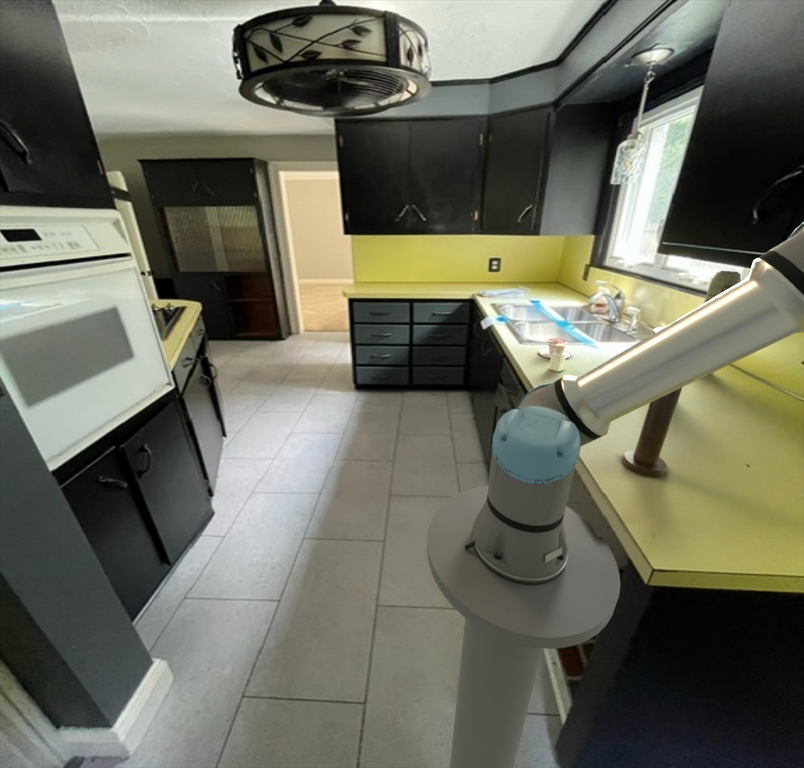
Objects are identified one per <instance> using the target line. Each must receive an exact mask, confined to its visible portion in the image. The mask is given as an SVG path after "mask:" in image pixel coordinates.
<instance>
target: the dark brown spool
mask: <svg viewBox="0 0 804 768" xmlns="http://www.w3.org/2000/svg"><path fill="white" fill-rule="evenodd" d="M664 327H665V326H662V327H655V328H654V329H653V331H652V334H654V333H655V332H657V331H659V330H661V329H662V328H664ZM682 390H683V387H682V388H680V389H678V390H676V391H673V392H671V393H669V394H667V395H665V396H663V397H661V398H659V399H657V400H655V401H653V402H651V403H648V407H647V410H646V414H645V417H644V420H643V423H642V427H641V430H640V432H639V437H638V440H637V443H636V447H635V449H630V450H626V451H625V452H624V453H623V455H622V456H623V457H622V464H623V465H624V466H625V467H626V468H627V469H628V470H630V471H631V472H633V473H636V474H638V475H641V476H645V477H650V478H651V477H652V478H658V477H662V476H663V475H665V473H666V470H667V468H668V466H667V463H666V461H665V460H664V459H662V458H661V457H660V455H661V453H662V450H663V447H664V443H665V441H666V437H667V435H668V432H669V429H670V425H671V423H672V420H673V417H674V414H675V411H676V408H677V404H678V402H679V399H680V396H681V392H682Z"/></svg>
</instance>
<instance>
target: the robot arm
mask: <svg viewBox="0 0 804 768" xmlns="http://www.w3.org/2000/svg"><path fill="white" fill-rule="evenodd" d="M702 304H703V303H702ZM702 304H701V305H700V306H698V307H696V308H695V309H693V310H691V311H690V312H687V313H686V314H685V315H683V316H681V317H679V318H678V319H676V320H674V321H673V322H670V323H669V324H667V325H666V326H663V327H664V328H662V329H661V330H659V331H657V332H655V333H654V334H653V333H652V334H651V335H649V336H647V337H645V338H644V339H642V340H640V341H638V342H637V343H635V344H634V345H632V346H630V347H628V348H627V349H625V350H623V351H622V352H620V353H618V354H616V355H615V356H613V357H611V358H610V359H608V360H606V361H605V362H603V363H601V364H600V365H598V366H596V367H594V368H593V369H591V370H590V371H587V372H586V373H584V374H583V375H581V376H575V375H569V374H565V375H563V376H562V377H560V378H558V379H556V380H555V381H553V382H548V383H547V382H546V383H543V384H540V385H538V386H535V387H534V388H533V389H531V390H529V391H528V392H527V393H526V394H525V395H524V396H523V397H522V399H521V400H520V402H519V403H518V406H517V408H513V409H511V410H507V412H505V413H504V414H503V415H501V417H500V418H499V419H498V421H497V423H496V427H495V429H494V433H493V435H492V442H491V443H492V444H491V447H492V448H491V449H492V451H491V460H490V468H489V477H488V485H487V486H488V495H487V500H486V502H485V503H484V505H483V507H482V508H481V510H480V512H479V514H478V515H477V517H476V519H475V521H474V524H473V528H472V542H471V543H469V544H467V545H465V546H464V547H465V549H466V550H467V549H469V548H471V547H473V548H474V551H475V553H476V555H477V556H478V558H479V559H480V560H481V562H482V563H483V564H484V565H485V566H486V567H487V568H488V569H490V570H491V571H492V572H494V573H495V574H497V575H498V576H500V577H502V578H504V579H506V580H509V581H511V582H515V583H518V584H524V585H541V584H546V583H549V582H551V581H553V580H555V579H556V578H558V577H559V576H560V575H561V574H562V572H563V571H564V569H565V566H566V563H567V558H568V543H567V538H566V533H565V528H564V522H563V517H564V513H565V509H566V506H567V505H568V501H569V495H570V492H571V486H572V482H573V479H574V473H575V469H576V465H577V464H578V461H579V458H580V455H581V447H582V446H585V445H588V444H590V443H592V442H594V441H596V440H599V439H601V438H602V437H604V436H607V434H608V431H609V429H610V425H611V423H612V422H613V421H615V420H618V419H619V418H621V417H624V416H626V415H628V414H630V413H632V412H634V411H636V410H638V409H640V408H642V407H644V406H646V405H649V403H651V402H653V401H655V400H657V399H659V398H661V397H663V396H665V395H667V394H669V393H671V392H673V391H676V390H678V389H680V388H682V389H683V388H684V387H686V386H688V385H690V384H693V383H694V382H696V381H699V380H700V379H703V378H705V377H707V376H709V375H711V374H713V373H715V372H717V371H719V370H722V369H724V368H726V367H728V366H730V365H732V364H734V363H736V362H738V361H740V360H742V359H745V358H747V357H749V356H750V355H753V354H755V353H757V352H759V351H761V350H763V349H766V348H768V347H769V346H771V345H773V344H776V343H778V342H780V341H782V340H784V339H786V338H788V337H790V336H792V335H795V334H799V333H801V334H802V333H804V221H803V222H802V223H800V225H798V226H797V227H796V228H795V229H794V230H793V231H792V233H791V234H790V235H789V236H788V237H787V239H786V240H784V241H782V242H781V243H780V244H778V245H776V246H774V247H772V248H771V249H769V250H768V251H766V252H764V253H763V254H761V255H760V256H758V257H757V258H755V259H754V260H753V261H752V264H751V267H750V270H749V273H748V275H747V276H746V278H745V279H744V280H741V282H740V283H739V284H737V285H735V286H733V287H732V288H730V289H728V290H727V291H725V292H723V293H722V294H720V295H718V296H717V297H715V298H713V299H711V300H710V301H708V302H706V303H705V304H703V305H702Z"/></svg>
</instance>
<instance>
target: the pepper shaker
mask: <svg viewBox="0 0 804 768" xmlns="http://www.w3.org/2000/svg"><path fill="white" fill-rule="evenodd" d="M565 349H566V345H563V344H556V345H555V352H553V353H552V354H551V358H549V359H550V360H549V365H548V369H549V370H551V371H554V372H561V371H563V370H564V368H565V363H566V359H567V358H566V354H564V351H565ZM565 358H566V359H565Z"/></svg>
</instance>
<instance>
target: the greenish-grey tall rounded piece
mask: <svg viewBox="0 0 804 768" xmlns="http://www.w3.org/2000/svg"><path fill="white" fill-rule="evenodd" d="M740 282H742V278H741V273H739V271H734V270H720V271H717V272H716V273H715V274H714V276H713V277H712V278H711V280H710V283H709V286H708V288H707V292H706V297H705V298H704V301H703V302H702V304H701V305H703V304H705V303H706V302H708V301H710V300H711V299H713V298H715V297H717V296H718V295H720V294H722V293H723V292H725V291H727V290H728V289H730V288H732V287H733V286H735V285H737V284H739V283H740Z"/></svg>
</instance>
